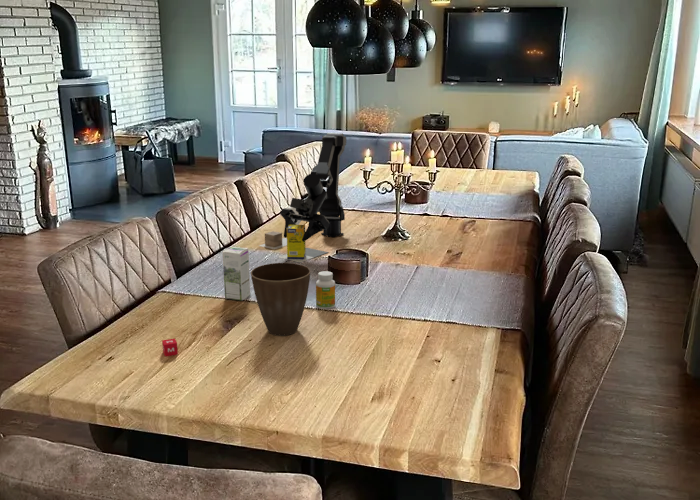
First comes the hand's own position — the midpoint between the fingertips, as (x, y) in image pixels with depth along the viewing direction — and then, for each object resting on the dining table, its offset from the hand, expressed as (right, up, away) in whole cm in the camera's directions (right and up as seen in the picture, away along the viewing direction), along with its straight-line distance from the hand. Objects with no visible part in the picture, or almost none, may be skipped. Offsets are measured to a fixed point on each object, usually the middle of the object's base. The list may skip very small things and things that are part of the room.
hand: (293, 239), depth 239 cm
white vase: (-3, +3, +38) cm, 38 cm away
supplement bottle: (+13, -20, -43) cm, 49 cm away
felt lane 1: (-7, -1, +20) cm, 21 cm away
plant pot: (+2, -25, -60) cm, 65 cm away
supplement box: (+1, -6, +3) cm, 7 cm away
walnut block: (-9, -2, +18) cm, 20 cm away
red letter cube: (-23, -29, -74) cm, 82 cm away
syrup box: (-13, -18, -36) cm, 42 cm away
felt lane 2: (+3, -5, +6) cm, 9 cm away
